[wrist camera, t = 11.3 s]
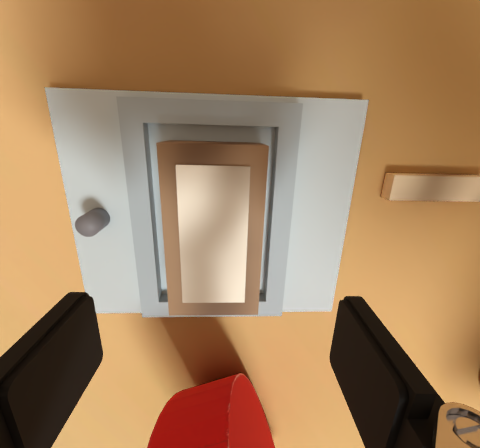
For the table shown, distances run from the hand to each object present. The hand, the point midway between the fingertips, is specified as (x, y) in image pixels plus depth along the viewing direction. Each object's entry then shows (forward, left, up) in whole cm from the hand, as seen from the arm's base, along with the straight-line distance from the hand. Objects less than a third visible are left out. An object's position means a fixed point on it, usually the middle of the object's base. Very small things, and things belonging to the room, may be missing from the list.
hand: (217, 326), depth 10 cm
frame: (0, 0, -12) cm, 12 cm away
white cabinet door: (+1, 0, -13) cm, 13 cm away
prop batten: (-17, -3, -13) cm, 22 cm away
